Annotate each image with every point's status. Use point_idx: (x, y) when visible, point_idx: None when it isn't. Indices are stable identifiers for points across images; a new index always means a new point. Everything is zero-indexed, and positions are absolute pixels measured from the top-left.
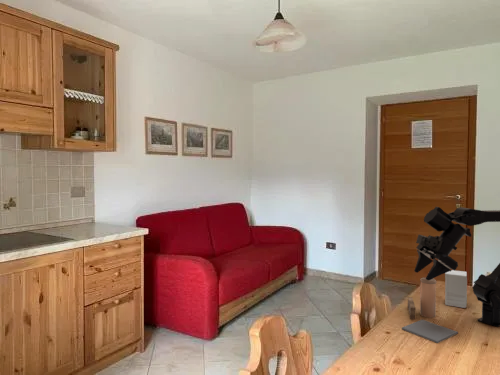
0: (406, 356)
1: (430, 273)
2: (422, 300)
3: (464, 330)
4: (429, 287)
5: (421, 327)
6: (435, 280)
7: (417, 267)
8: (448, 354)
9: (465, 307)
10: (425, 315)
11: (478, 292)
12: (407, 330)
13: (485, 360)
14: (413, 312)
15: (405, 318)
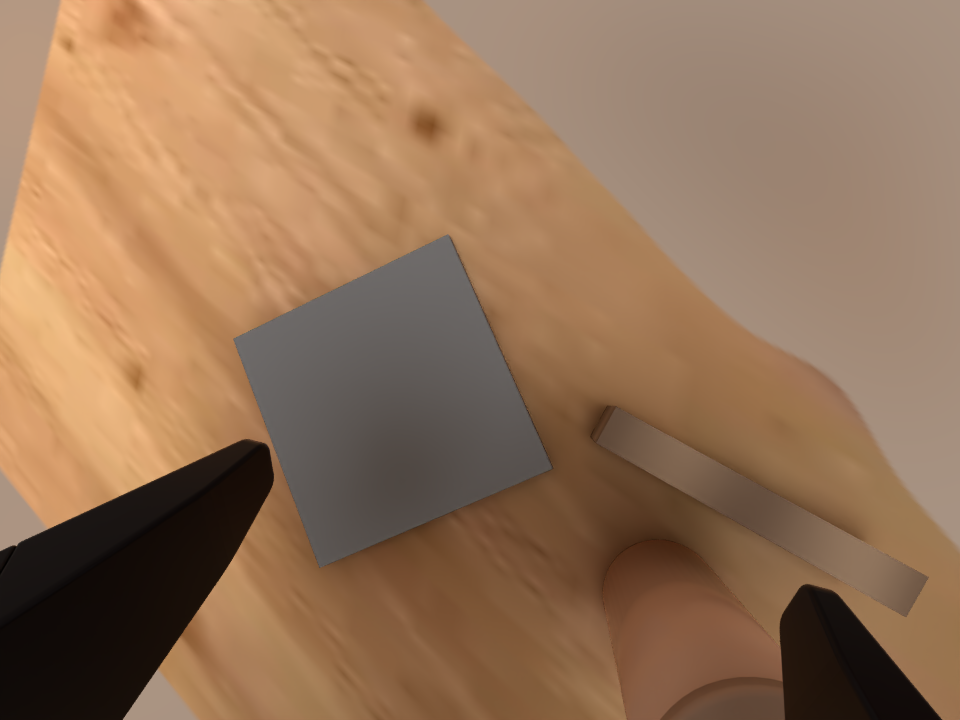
0: (156, 86)
1: (107, 511)
2: (679, 582)
3: (357, 651)
4: (646, 704)
5: (424, 369)
6: None
7: (839, 696)
8: (127, 312)
9: None
10: (626, 552)
11: None
12: (410, 253)
13: (41, 455)
14: (600, 426)
15: (623, 374)
